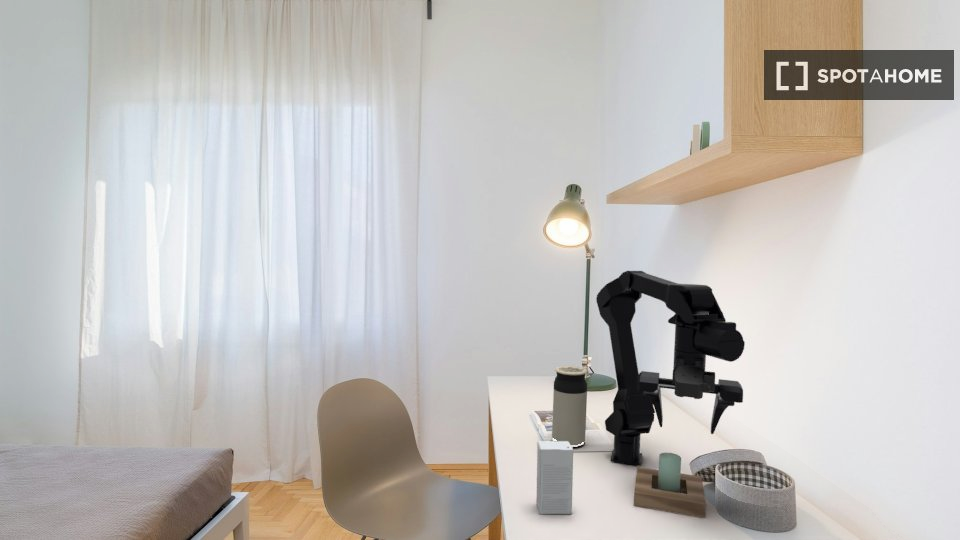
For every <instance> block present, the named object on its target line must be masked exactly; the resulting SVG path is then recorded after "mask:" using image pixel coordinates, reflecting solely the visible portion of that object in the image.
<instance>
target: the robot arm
mask: <svg viewBox="0 0 960 540" xmlns="http://www.w3.org/2000/svg"><path fill="white" fill-rule="evenodd" d="M642 294H643V295H646V296H649V297H651V298H653V299H656V300H659V301H661V302H663V303H665V306H666V307H667V309H669V310H670V311H672V312H673V313H674V315H673V316H671V317H670V318H669V319H668V321H667V322H668V323H669V324H671V325H675V326H674V327H675V329H674V349H673V367H672V368H673V370H672V378H665V377H660V372H654V371H644V370H642V371H640V372H639V368H638V362H637V354H636V349H635V342H634V337H633V331H632V321H633V319H634V315H635V314H636V304H637V303H638V301H640V299H641V298H642ZM596 304H597V307H598V311H599V315H600V318H601V319H602V320H603V321H604V322H605V323H606V325H607V326H608V330H609V336H610V343H611V349H612V358H613V362H614V363H613V364H614V370H615V377H616V384H617V392H616V394H615V397H614V399H613V401H612V410H613V412H612V413H610V415H608V417H607V418H606V419H605V421H604V424H605V425H604V426H605V430H606V432H608V433H610V434H611V435H613V437H614V438H613V449H612V451H611V455H610V461H611V462H614V463H620V464H627V465H632V466H633V465H634V466H641V465H642V457H643V454H642V452H641V435H642V434H650V432H651V428H652V425H653V423H654V421H655V413H656V418H657V421H658V424H659V427H660V428H663V420H664V419H663V418H664V415H663V404H662V394H661V392H662V390H661V389H670V390H674V392H673V393H674V395H675V396H676V397H677V398H678V397H679V398H684V397H686V398H693V399H695V400H701V399H703V397H704V393H705V394H711V395H712V394H714V395H715V398H714V405H713V410H712V416H711V422H710V434H711V435H714V433H715V431H716V429H717V426H718V423H719V422H720V419H721V417H722V415H723V414H724V412H725V411H726V410H727V408H728V407H734V406H735V403H740V404H741V403H743V402H744V389H743V386H742V384H741V383H740V382H739V381H738V380H730V379H718V382H717V383H716V373H715V372H716V371H715V372H714V371H707V370H706V364H707V363H706V360H707V359H706V358H707V356H708V357H711V358H715V359H718V360H723V361H727V362H730V363H731V362H734V361H737V360H738V359H740V357H741V356H742V355H743V353H744V350H745V341H744V337H743V335H742V333H741V332H740V331H739V330H737V323H736V322H733V321H727V320H726V318H725V316H724V313H723V311H722V309H721V307H720V306H719V302H718V301H717V298H716V297H715V294H714V293H713V288H711V287H710V286H709V285H708V284H707V285H706V284H695V283H694V284H693V283H689V284H688V283H677V282H674V281H671V280H668V279H666V278H665V279H664V278H662V277H658V276H656V275H653V274H650V273H646V272H645V271H643V270H626V271H623V272H622V273H621V274H620V275H619V277H617V278H615V279H613V280H611V281H609V282H608V283H606V284H605V285H604V286H603V287H602V288H601V289H600V290H599V292H598V293H597V294H596Z"/></svg>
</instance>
